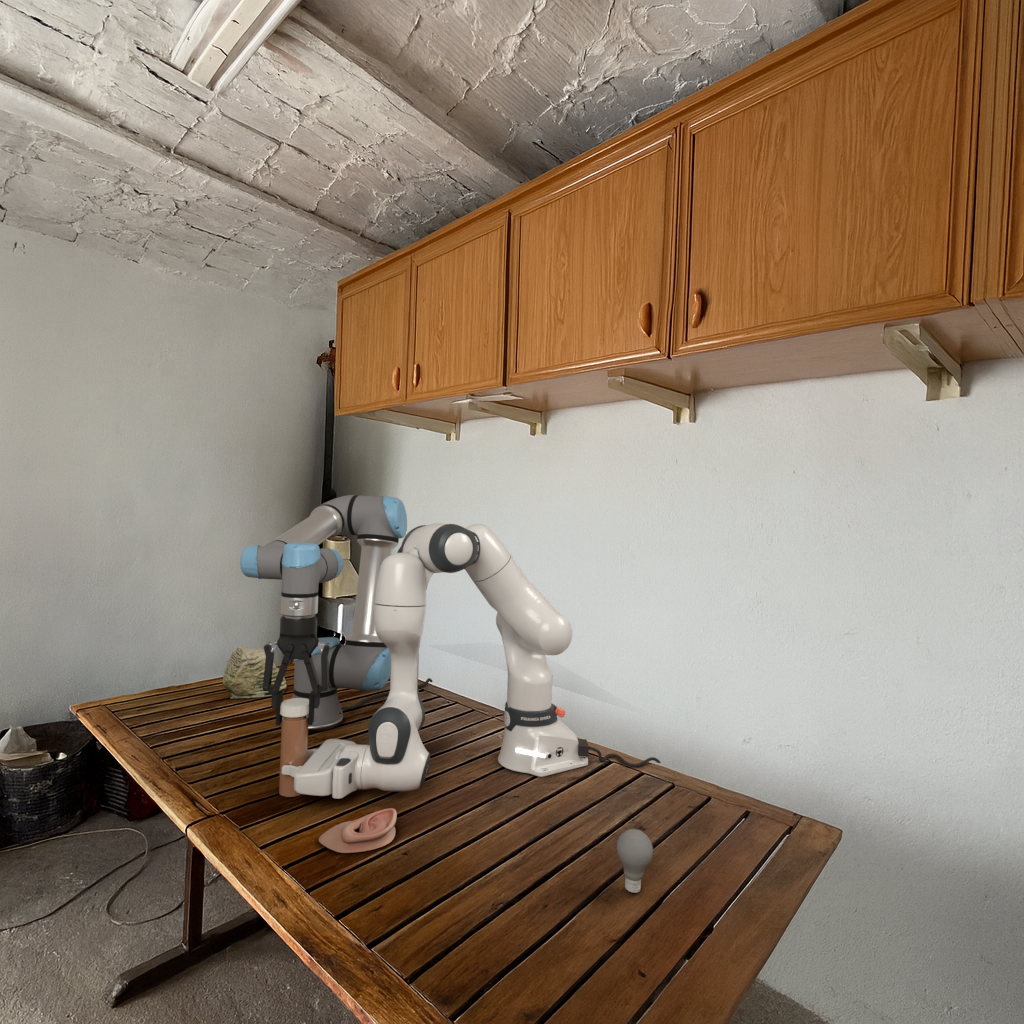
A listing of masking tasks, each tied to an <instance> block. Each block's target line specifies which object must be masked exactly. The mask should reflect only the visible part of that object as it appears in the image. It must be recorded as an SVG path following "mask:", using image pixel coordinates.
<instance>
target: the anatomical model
mask: <svg viewBox="0 0 1024 1024" xmlns="http://www.w3.org/2000/svg"><path fill="white" fill-rule="evenodd" d="M397 816H398V813H397V810H396V809H395V808H392V807H390V808H384V809H380V810H377V811H374V812H371V813H369V814H366V815H364V816H362V817H360V818H357V819H354V820H348V821H343V822H341V823H339V824H335V825H334V826H332V827H330V828H328V830H326V831H324V832H323V833H322V834H321V835H320V836H319V837H318V842H319V843H320V844H321V845H322V846H324V847H325V848H327V849H329V850H332V851H333V852H336V853H339V854H351V853H361V852H367V851H372V850H376V849H380V848H382V847H385V846H387V845H389V844H390V843H392V842H393V840H394V839H395V837H396V833H397V832H396V827H395V825H396V823H397V818H398V817H397Z"/></svg>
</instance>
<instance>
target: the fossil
mask: <svg viewBox="0 0 1024 1024" xmlns="http://www.w3.org/2000/svg"><path fill="white" fill-rule="evenodd" d="M265 660H266V655H265V651H264V648H260V647H258V648H251V647H247V646H246V647H245V646H238V647H237V648H236V649H235V650H233V651H232V653H231V656H230V657H229V659H228V660H227V663H226V666H225V668H224V671H223V675H222V676H223V677H222V685H223V687H224V688H225V690H226V691H228V693H229V698H230V699H250V698H264V697H272V694H271V693H270V692H268V691H263V679H264V669H265ZM279 669H280V668H278V667H277V665H276V663H275V662H273V672H272V682H271V684H272V685H274V683H275V680H276V677H277V674H278V672H279ZM287 687H288V686H287V680H286V678H285V676H284V678H283V681H282V684H281V686H280V689H279V691H283V693H285V691H286V689H287Z"/></svg>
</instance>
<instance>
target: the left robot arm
mask: <svg viewBox="0 0 1024 1024" xmlns="http://www.w3.org/2000/svg"><path fill="white" fill-rule="evenodd" d="M407 516H408V515H407V510H406V507H405V504H404V501H402V499H400V497H399V498H398V497H394V496H387V495H360V494H359V495H358V494H348V495H347V494H346V495H343V496H338V497H335V498H333V499H330V500H327V501H326V502H323V503H321V504H320V505H318V506H317V507H314V509H313V510H311V513H310V514H309V516H307V517H306V518H305V519H303V520H302V521H301V522H299V523H297V524H296V525H294V526H293V527H291V528H290V529H288V530H287V531H285V532H284V533H282V534H280V535H279V536H278V537H276V538H274V539H273V540H272V541H270V542H268V543H267V544H265V545H260V544H257V545H247V546H246V547H245V548H244V549H243V550H242V553H241V556H240V561H239V563H240V570H241V573H242V574H243V575H244V576H245V577H247V578H252V579H258V580H263V579H264V580H277V581H278V580H279V581H281V596H280V614H281V615H282V616H281V617H280V618H279V637H278V639H277V640H276V641H273V642H270V641H269V642H268V641H267V643H266V644H264V646H263V650H264V652H265V655H266V660H265V669H264V679H263V691H268V692H270V693H271V694H272V696H271V700H270V701H271V704H270V705H271V706H270V707H271V709H272V710H275V726H276V727H278V726H281V720H282V717H283V716H282V715H281V714H280V707H281V702H282V701H284V692H283V691H279V689H280V686H281V684H282V681H283V678H284V677H285V675H286V673H287V671H288V670H287V669H288V667H289V664H290V662H291V661H294V672H293V695H292V696H293V697H292V698H305V699H308V700H309V714H308V716H309V718H308V733H316V732H325V731H329V730H332V729H335V728H337V727H339V726H340V725H342V723H343V722H344V714H343V711H345V710H346V711H347V710H350V711H351V710H353V709H354V710H355V709H356V708H358V707H359V706H361V705H362V704H364V703H366V702H368V701H369V702H370V701H372V700H374V699H377V698H381V697H386V696H389V692H390V691H386V692H381V693H377V694H374V695H371V696H369V697H366V698H363V699H362V700H360V701H359V702H356V703H355V704H353V705H348V706H347V705H346V706H345V705H343V706H341V702H340V699H339V695H338V689H346V690H358V691H363V692H368V691H370V692H371V691H373V692H377V691H380V690H382V689H383V688H384V687H385V686H386V685H387V684H388V681H389V679H390V672H391V657H390V652H389V650H388V648H387V646H386V645H385V644H384V643H383V642H382V641H381V640H380V639H379V638H378V636H377V635H376V631H375V623H374V604H375V592H376V585H377V580H378V575H379V571H380V567H381V564H382V562H383V560H384V559H385V558H386V557H388V556H390V555H392V554H393V550H394V549H395V548H397V547H398V546H399V543H400V539H404V538H405V536H406V535H407V531H408V517H407ZM337 536H356V542H357V543H358V544H359V545H360V547H361V551H360V559H359V568H358V577H357V587H356V595H355V602H354V612H353V613H354V614H353V622H352V632H351V634H349V635H348V636H347V637H346V638H345V643H344V644H341V641H340V639H339V638H338V637H334V636H325V637H318V617H317V616H316V615H317V614H318V611H319V586H320V585H319V584H321V583H325V582H326V583H327V582H331V581H332V580H334V579H336V578H338V577H339V576H340V575H341V574H342V572H343V571H344V564H345V563H344V559H343V556H342V555H341V553H340V552H339V551H338V550H336V549H334V548H328V547H327V548H325V547H322V548H320V546H319V545H321V544H322V543H323V542H324V541H326V540H328V539H329V540H330V539H334V538H336V537H337ZM277 648H278V649H279V650H280V652H281V653H282V654H283V656H282V657H283V658H282V660H281V663H280V666H279V668H278V669H279V672H278V674H277V677H276V680H275V683H274V685H272V684H271V682H272V672H273V662H274V661H275V653H276V652H277ZM274 663H275V662H274ZM433 682H434V681H433V680H432V678H431V677H429V678H427V679H426V680H425V681H424V683H421V684H418V689H422V688H424V687H425V686H427V685H428V684H429V683H433Z"/></svg>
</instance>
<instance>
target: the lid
mask: <svg viewBox="0 0 1024 1024" xmlns="http://www.w3.org/2000/svg"><path fill="white" fill-rule="evenodd" d="M280 714H281V715H282V717H283V716H284V717H302V716H305V715H308V714H309V700H308V699H305V698H293V697H291V698H287V699H283V701H282V702H281V707H280Z"/></svg>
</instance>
